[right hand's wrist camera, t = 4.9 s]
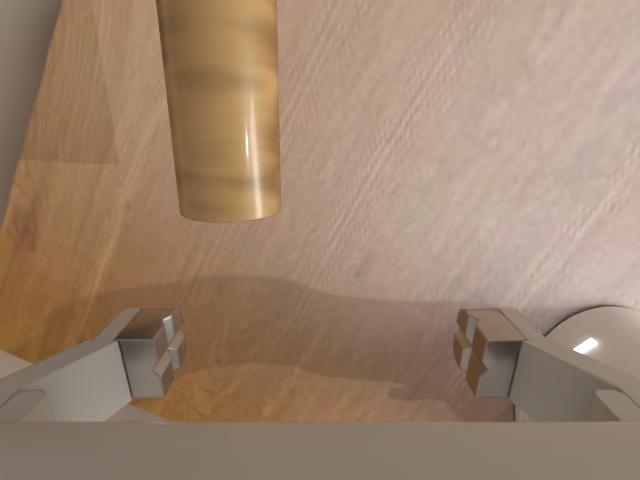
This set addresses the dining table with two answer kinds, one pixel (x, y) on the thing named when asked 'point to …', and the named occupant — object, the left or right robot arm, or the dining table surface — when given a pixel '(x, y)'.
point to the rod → (223, 106)
